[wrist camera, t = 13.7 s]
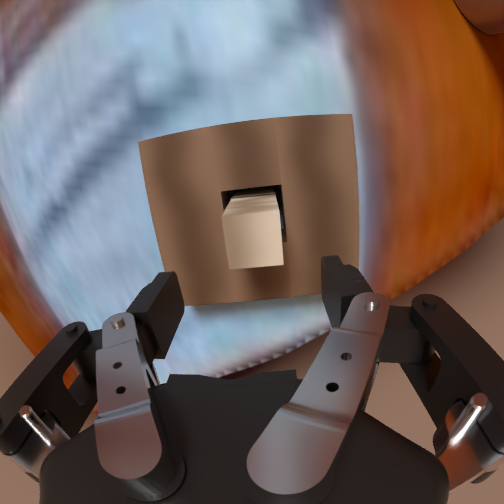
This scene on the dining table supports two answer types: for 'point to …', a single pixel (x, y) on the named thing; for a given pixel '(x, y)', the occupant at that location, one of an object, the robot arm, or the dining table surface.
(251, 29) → the dining table surface
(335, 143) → the board
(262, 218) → the peg
